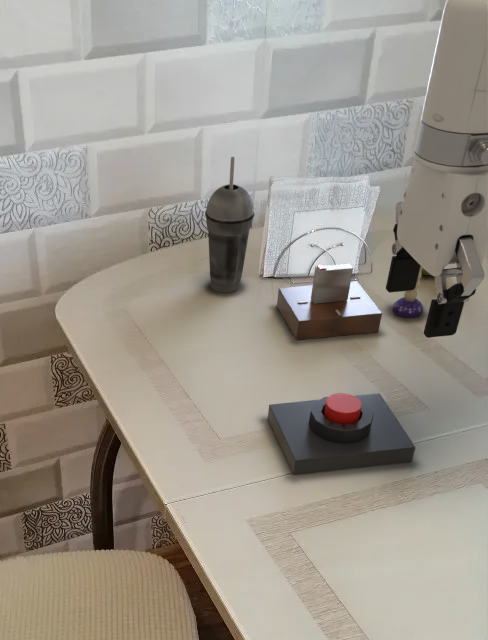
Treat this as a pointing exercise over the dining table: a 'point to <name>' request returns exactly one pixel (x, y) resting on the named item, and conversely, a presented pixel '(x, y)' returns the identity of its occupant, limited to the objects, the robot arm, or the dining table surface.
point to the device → (339, 436)
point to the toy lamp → (409, 303)
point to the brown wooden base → (328, 313)
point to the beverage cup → (228, 233)
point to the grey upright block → (331, 283)
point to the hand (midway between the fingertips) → (418, 311)
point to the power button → (342, 408)
